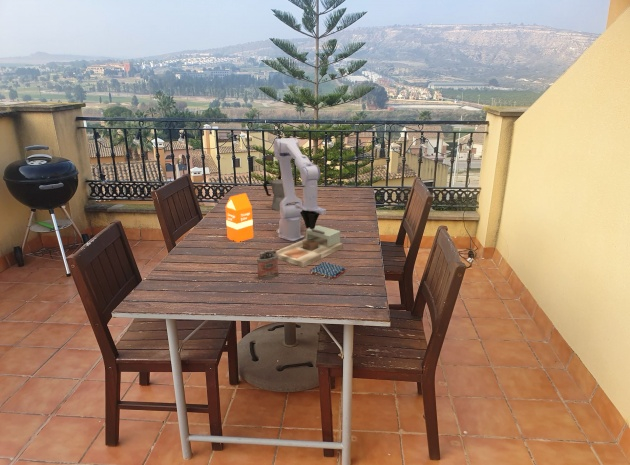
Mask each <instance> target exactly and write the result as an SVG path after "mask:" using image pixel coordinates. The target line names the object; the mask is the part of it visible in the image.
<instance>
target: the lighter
mask: <svg viewBox="0 0 630 465" xmlns="http://www.w3.org/2000/svg"><path fill="white" fill-rule="evenodd" d="M276 251H277V250H276V249H269V250H266V249H265V250H264V251H261V252H259V257H256V261H257V279H258V280H265V279H272V278H275V277H278V276H279V274H280V273H279V259H278V255H273V254H275V253H276Z"/></svg>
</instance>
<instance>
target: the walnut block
mask: <svg viewBox="0 0 630 465" xmlns="http://www.w3.org/2000/svg"><path fill="white" fill-rule="evenodd" d="M317 248H318V242H317V241H314V240H310V239H309V240H307V241H304V242H303V249H306V250H309V251H313V250H315V249H317Z"/></svg>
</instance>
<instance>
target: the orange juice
mask: <svg viewBox="0 0 630 465" xmlns="http://www.w3.org/2000/svg"><path fill="white" fill-rule="evenodd" d="M225 216H226V217H225V219H226V220H225V221H226V236H227V239H228V238H229V239H228V240H230V241H233V240H234V241H233V242H236V243H240V241H241V242H243V241H244V242H245V241H246V240H250V239H253V238H254V226H253V225H254V224H253V223H254V222H253V206H252V204H251V203H250V200H249V198H248V195H247V193H246V192H244V193H239V194H236V195H231V196H230V197H229V199H228V201H227V203H226V205H225Z"/></svg>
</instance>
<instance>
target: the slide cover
mask: <svg viewBox="0 0 630 465" xmlns="http://www.w3.org/2000/svg"><path fill="white" fill-rule="evenodd" d="M315 237H321V238H324V239H327V247H330V246H332V245H334V244H336V243H338V242H339V243H341V231H340V230H337V229H334V228H333V229H332V228H330V227H326V226H323V225H317V224H316V225H315V228H314V229H310V227H309V228H306V229H305V239H306V240H309V239H312V238H315Z"/></svg>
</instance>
